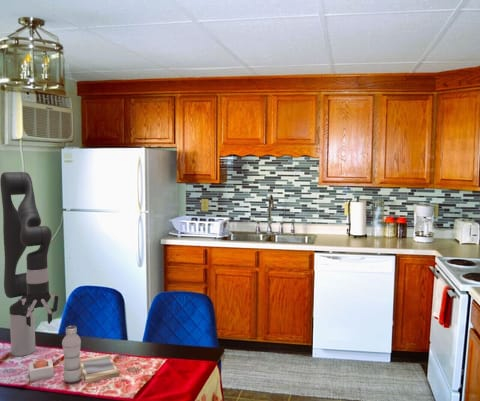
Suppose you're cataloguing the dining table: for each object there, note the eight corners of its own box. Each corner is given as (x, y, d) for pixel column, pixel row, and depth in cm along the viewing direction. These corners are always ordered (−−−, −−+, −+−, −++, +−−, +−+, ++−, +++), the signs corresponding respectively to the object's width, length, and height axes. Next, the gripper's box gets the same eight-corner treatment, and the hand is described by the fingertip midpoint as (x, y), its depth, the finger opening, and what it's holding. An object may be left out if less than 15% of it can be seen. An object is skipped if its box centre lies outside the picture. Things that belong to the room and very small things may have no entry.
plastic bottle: (76, 385, 169) (74, 331, 167) (59, 383, 170) (57, 330, 169) (85, 377, 175) (84, 325, 173) (69, 375, 177) (67, 323, 175)
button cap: (34, 371, 178) (34, 361, 178) (46, 369, 180) (46, 359, 179) (35, 375, 174) (35, 365, 174) (47, 373, 176) (46, 363, 176)
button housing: (29, 372, 179) (28, 362, 179) (51, 368, 183) (51, 358, 182) (30, 381, 172) (29, 371, 172) (53, 377, 175) (53, 366, 175)
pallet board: (78, 363, 187) (78, 359, 187) (109, 357, 192) (109, 353, 192) (86, 383, 171) (85, 378, 171) (119, 376, 176) (119, 371, 176)
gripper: (57, 275, 180) (58, 318, 182) (15, 280, 174) (17, 324, 175) (59, 280, 174) (61, 324, 175) (16, 285, 167) (18, 331, 169)
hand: (39, 324), depth 175 cm, fingers open, 6 cm apart
